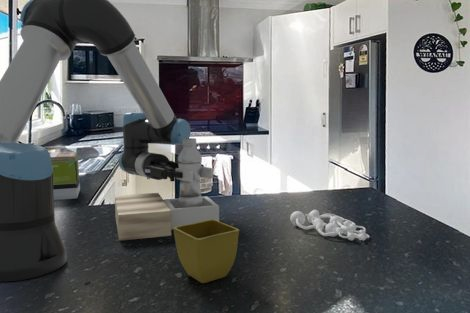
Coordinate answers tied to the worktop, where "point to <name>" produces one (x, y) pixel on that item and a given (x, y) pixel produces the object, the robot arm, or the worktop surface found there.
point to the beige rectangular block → (142, 216)
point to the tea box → (65, 175)
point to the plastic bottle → (192, 162)
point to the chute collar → (192, 212)
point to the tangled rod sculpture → (329, 225)
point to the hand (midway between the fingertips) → (202, 174)
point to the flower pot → (206, 249)
